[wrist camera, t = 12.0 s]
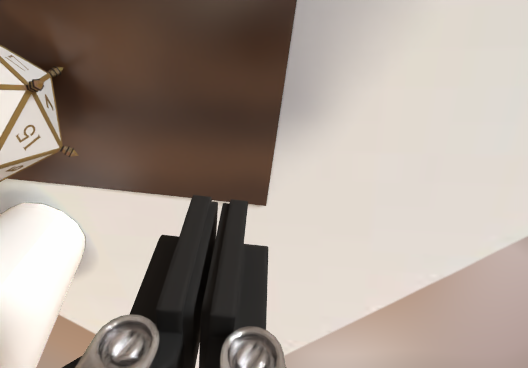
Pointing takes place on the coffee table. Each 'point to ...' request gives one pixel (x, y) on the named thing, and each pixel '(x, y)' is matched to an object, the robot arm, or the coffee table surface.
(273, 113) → the plate
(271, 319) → the coffee table surface
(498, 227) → the coffee table surface
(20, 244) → the foam cup
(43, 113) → the game die
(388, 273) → the coffee table surface
